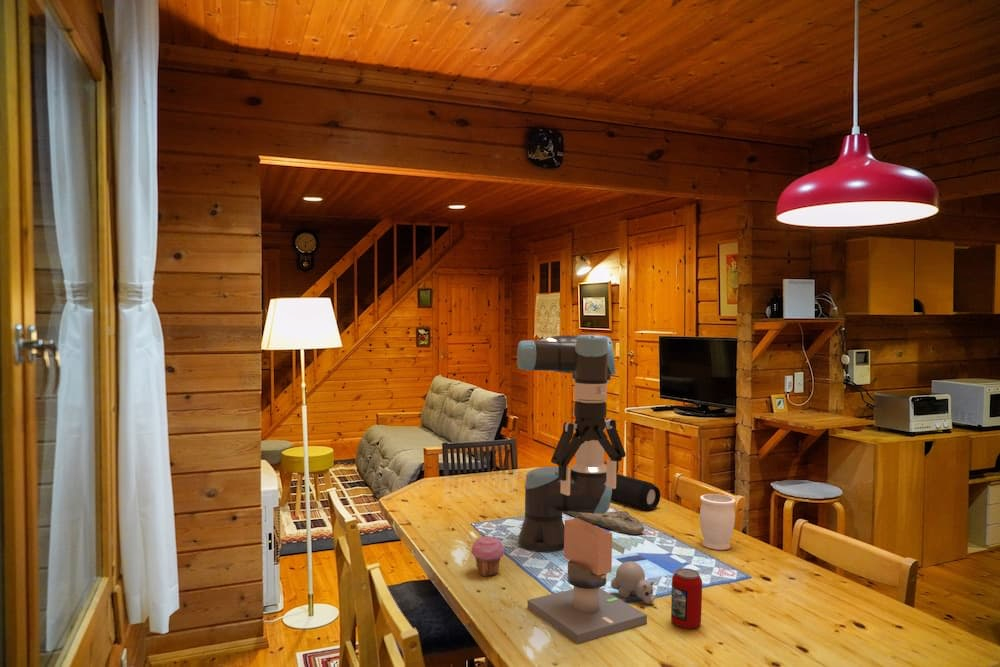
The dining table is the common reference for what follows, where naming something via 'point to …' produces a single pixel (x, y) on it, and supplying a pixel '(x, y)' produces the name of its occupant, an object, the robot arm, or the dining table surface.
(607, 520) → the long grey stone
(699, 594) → the beverage can
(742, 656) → the dining table surface
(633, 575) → the chubby cartoon animal
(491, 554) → the cupcake
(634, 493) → the portable speaker
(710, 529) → the jar
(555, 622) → the coupling base
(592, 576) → the coupling
